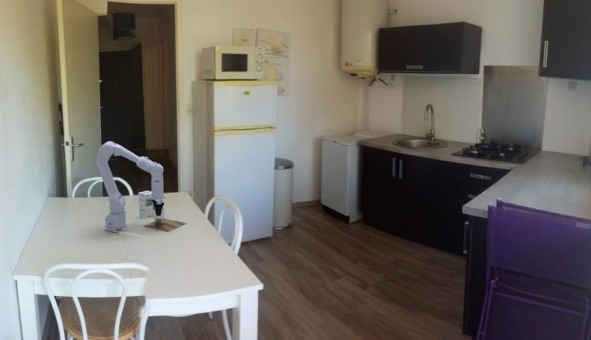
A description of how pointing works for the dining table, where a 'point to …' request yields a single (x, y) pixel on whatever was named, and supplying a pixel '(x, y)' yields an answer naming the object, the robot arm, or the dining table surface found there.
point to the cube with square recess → (155, 213)
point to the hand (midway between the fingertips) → (157, 214)
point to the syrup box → (145, 204)
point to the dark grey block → (157, 222)
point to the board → (166, 225)
